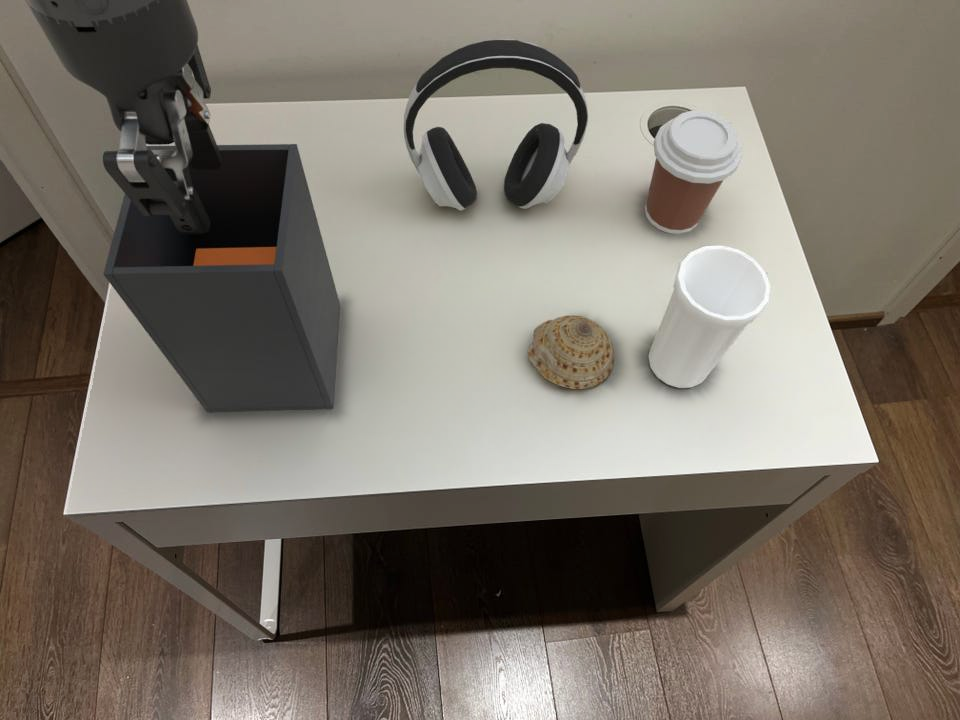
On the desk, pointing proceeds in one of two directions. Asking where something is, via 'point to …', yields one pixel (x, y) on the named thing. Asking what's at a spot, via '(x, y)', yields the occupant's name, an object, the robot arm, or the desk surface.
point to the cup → (707, 313)
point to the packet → (235, 256)
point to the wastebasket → (237, 286)
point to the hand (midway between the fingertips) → (202, 196)
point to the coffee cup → (690, 168)
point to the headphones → (538, 154)
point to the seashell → (572, 352)
